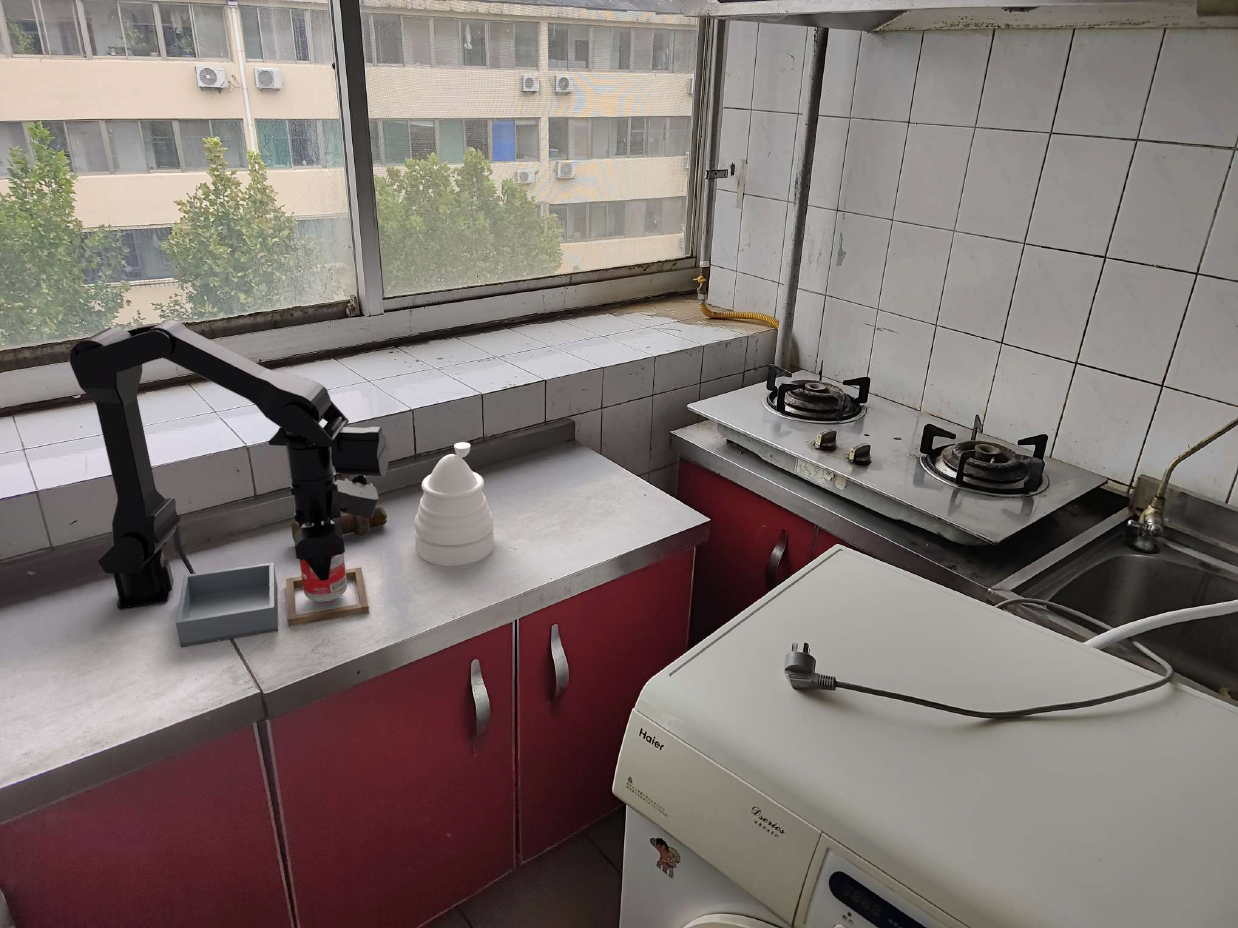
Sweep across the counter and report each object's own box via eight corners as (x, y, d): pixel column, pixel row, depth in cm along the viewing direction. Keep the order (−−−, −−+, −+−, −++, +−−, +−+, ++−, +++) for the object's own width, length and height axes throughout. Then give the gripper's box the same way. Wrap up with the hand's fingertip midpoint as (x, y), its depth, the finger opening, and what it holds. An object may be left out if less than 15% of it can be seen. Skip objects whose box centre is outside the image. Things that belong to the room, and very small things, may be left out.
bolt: (387, 536, 144) (299, 558, 136) (376, 513, 146) (289, 534, 138) (392, 517, 140) (303, 539, 131) (381, 494, 142) (293, 514, 134)
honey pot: (474, 520, 147) (471, 426, 139) (506, 553, 137) (505, 454, 130) (404, 537, 140) (397, 440, 133) (433, 573, 131) (427, 471, 123)
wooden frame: (288, 626, 117) (287, 619, 116) (287, 585, 126) (286, 578, 125) (369, 612, 121) (368, 606, 120) (362, 573, 130) (361, 567, 129)
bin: (181, 647, 112) (175, 622, 110) (188, 598, 122) (183, 575, 120) (278, 630, 116) (274, 607, 114) (277, 584, 126) (273, 562, 124)
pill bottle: (308, 580, 125) (299, 516, 120) (350, 578, 126) (343, 515, 121) (300, 604, 119) (291, 537, 115) (344, 602, 120) (337, 536, 116)
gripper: (379, 494, 109) (387, 593, 116) (365, 440, 125) (373, 530, 132) (289, 505, 106) (303, 607, 112) (286, 448, 121) (298, 540, 128)
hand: (323, 568), depth 121 cm, fingers closed on pill bottle, 6 cm apart
